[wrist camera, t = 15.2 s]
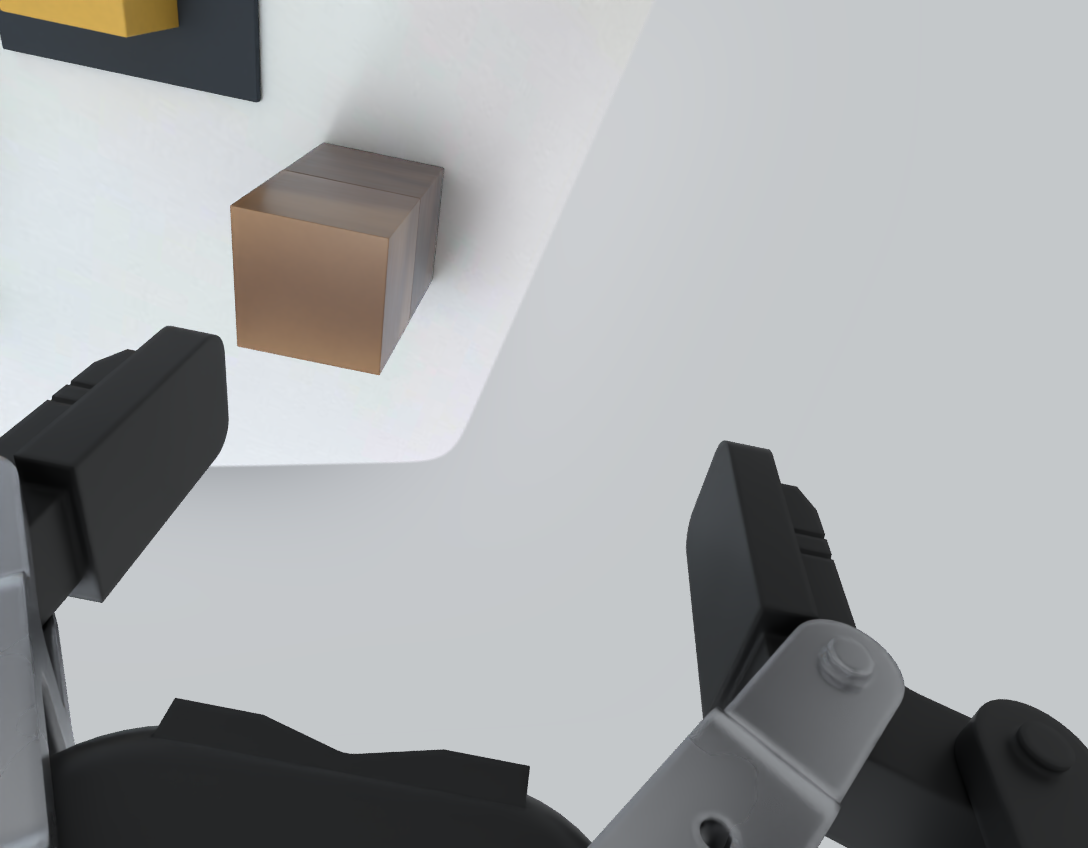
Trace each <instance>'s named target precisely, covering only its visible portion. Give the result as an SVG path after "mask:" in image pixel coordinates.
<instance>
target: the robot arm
mask: <svg viewBox="0 0 1088 848" xmlns="http://www.w3.org/2000/svg"><path fill="white" fill-rule="evenodd" d="M228 421H229V417H228V400H227V383H226V367H225V352H224V345H223V342H222V340H221V338H220V337H219V336H217V335H213V334H208V333H203V332H198V331H193V330H188V329H184V328H179V327H174V326H166V327H164V328H163V329H161V330H160V331H159V332H158V333H157V334H155V335H154V336H153V337H152V338H151V339H149V340H148V341H147V342H146V343H145V344H144V345H142V346H141V347H140V348H139V349H138V350H136V351H134V350H129V349H127V350H124V351H122V352H119V353H117V354H114V355H112V356H109V357H106V358H104V359H101V360H99V361H96V362H94V363H93V364H91V365H90V366H89V367H88V368H86V369H85V370H84V371H83V372H82V373H80V374H79V375H78V376H77V377H75V378H74V379H73V380H72V381H71V384H70V385H65V386H64V387H63V388H62V389H60V390H59V391H58V392H57V393H55V394H54V395H53V396H52V400H51V401H50V400H47V401H45V402H44V403H43V404H42V405H40V406H39V407H38V408H37V409H35V410H34V411H33V412H32V413H30V414H29V415H28V416H27V417H25V418H24V419H23V420H22V421H20V422H19V423H18V424H17V425H15V426H14V427H13V428H12V429H10V430H9V431H8V432H7V433H5V434H4V435H3V436H2V437H0V848H818V846H819V845H820V843H821V841H822V840H823V838H824V836H826V837H828V838H830V839H832V840H834V841H836V842H838V843H840V844H841V845H843V846H845V847H847V848H1088V749H1087V747H1086V746H1085V745H1084V744H1083V743H1082V742H1081V741H1080V740H1079V739H1078V738H1077V737H1076V736H1075V735H1074V734H1073V733H1072V732H1071V731H1070V730H1069V729H1067V728H1066V727H1065V726H1063V725H1062V724H1061V723H1060V722H1058V721H1057V720H1055V719H1054V718H1052V717H1051V716H1049V715H1048V714H1046V713H1044V712H1042V711H1040V710H1038V709H1036V708H1034V707H1032V706H1029V705H1027V704H1024V703H1020V702H1017V701H1012V700H1003V699H998V700H992V701H989V702H987V703H985V704H984V705H983V706H982V707H981V708H980V709H979V710H978V711H977V712H976V714H975V715H974V716H973V717H972V718H970V717H968V716H966V715H963V714H961V713H959V712H957V711H954V710H952V709H950V708H948V707H946V706H944V705H941V704H939V703H937V702H935V701H932V700H931V699H928V698H926V697H924V696H922V695H920V694H918V693H916V692H914V691H912V690H910V689H909V688H907V687H905V686H904V680H903V677H902V674H901V671H900V670H899V668H898V666H897V664H896V662H895V661H894V660H893V658H892V657H891V656H890V654H889V653H887V651H886V650H885V649H884V648H883V647H882V646H881V645H880V644H879V643H878V642H876V641H875V640H874V639H872V638H871V637H869V636H868V635H867V634H865V633H863V632H862V631H860V630H858V629H856V626H855V623H854V620H853V617H852V614H851V611H850V608H849V605H848V602H847V599H846V596H845V593H844V591H843V587H842V584H841V581H840V578H839V575H838V572H837V569H836V566H835V563H834V560H831V555H832V554H831V551H830V548H829V545H828V542H827V540H826V539H824V536H825V533H824V530H823V527H822V524H821V522H820V518H819V516H818V513H817V510H816V509H815V508H814V507H813V505H812V504H811V503H810V502H809V501H808V500H807V498H806V497H805V496H804V495H803V494H802V492H801V491H800V490H799V489H798V487H796V486H790V485H786V484H781V482H780V479H779V475H778V472H777V469H776V465H775V461H774V458H773V455H772V452H771V451H770V450H769V449H764V448H759V447H754V446H749V445H744V444H740V443H735V442H730V441H722V442H721V443H720V444H719V446H718V448H717V450H716V452H715V455H714V457H713V460H712V462H711V465H710V468H709V470H708V473H707V475H706V478H705V481H704V483H703V486H702V489H701V491H700V494H699V496H698V499H697V501H696V504H695V507H694V510H693V512H692V515H691V519H690V522H689V527H688V532H687V541H686V553H687V563H688V573H689V583H690V592H691V603H692V613H693V622H694V633H695V643H696V652H697V662H698V672H699V682H700V692H701V702H702V712H703V720H702V721H701V722H700V723H699V724H698V725H697V726H696V728H695V729H694V730H693V731H692V732H691V733H690V734H689V735H688V736H687V738H686V739H685V740H684V741H683V742H682V743H681V744H680V745H679V746H678V748H677V749H676V750H675V751H674V752H673V753H672V754H671V755H670V757H669V758H668V759H667V760H666V761H665V762H664V763H663V764H662V766H660V768H659V769H658V770H657V771H656V772H655V773H654V774H653V775H652V776H651V778H650V779H649V780H648V781H647V782H646V783H645V784H644V785H643V786H642V788H641V789H640V790H639V791H638V792H637V793H636V794H635V795H634V796H633V798H632V799H631V800H630V801H629V802H628V803H627V804H626V805H625V806H624V808H623V809H622V810H621V811H620V812H619V813H618V814H617V815H616V816H615V818H614V819H613V820H612V821H611V822H610V823H609V824H608V825H607V826H606V828H605V829H604V830H603V831H602V832H601V833H600V834H599V835H598V836H597V838H596V839H595V840H594V841H593V842H591V841H590V840H589V839H588V838H587V837H586V836H585V835H584V834H583V833H582V832H581V831H580V830H579V829H578V828H577V827H576V826H574V825H573V824H572V823H571V822H569V821H568V820H567V819H566V818H565V817H563V816H562V815H561V814H559V813H558V812H556V811H555V810H553V809H552V808H550V807H549V806H547V805H546V804H544V803H542V802H541V801H539V800H537V799H535V798H533V797H531V796H529V795H527V787H528V777H529V770H530V766H527V765H521V764H516V763H511V762H506V761H501V760H495V759H490V758H485V757H480V756H474V755H469V754H464V753H459V752H454V751H449V750H426V751H406V752H386V753H368V754H367V753H366V754H348V753H343V752H340V751H337V750H335V749H333V748H331V747H329V746H327V745H325V744H323V743H321V742H319V741H316V740H314V739H312V738H310V737H308V736H306V735H304V734H302V733H300V732H298V731H296V730H294V729H292V728H290V727H287V726H285V725H283V724H281V723H279V722H277V721H275V720H273V719H271V718H269V717H267V716H265V715H261V714H256V713H251V712H246V711H240V710H235V709H230V708H225V707H220V706H215V705H210V704H204V703H199V702H194V701H189V700H183V699H178V698H175V699H174V701H173V702H172V704H171V706H170V707H169V709H168V711H167V713H166V714H165V716H164V718H163V719H162V721H161V723H160V725H159V726H148V727H142V728H135V729H129V730H123V731H119V732H115V733H111V734H107V735H103V736H99V737H96V738H94V739H91V740H88V741H85V742H82V743H79V744H76V745H75V743H74V737H73V732H72V726H71V718H70V711H69V704H68V697H67V689H66V682H65V674H64V667H63V660H62V653H61V645H60V638H59V631H58V624H57V621H56V617H55V613H54V612H55V611H56V610H57V608H58V607H59V606H60V605H61V604H62V602H63V601H64V600H65V599H66V598H67V596H70V597H75V598H80V599H85V600H90V601H96V602H100V603H102V602H103V601H104V600H105V599H106V597H107V596H108V595H109V593H110V592H111V591H112V590H113V588H114V587H115V586H116V585H117V583H118V582H119V581H120V580H121V578H122V577H123V576H124V574H125V573H126V572H127V571H128V569H129V568H130V567H131V566H132V564H133V563H134V562H135V560H136V559H137V558H138V557H139V555H140V554H141V553H142V552H143V550H144V549H145V548H146V546H147V545H148V544H149V543H150V541H151V540H152V539H153V537H154V536H155V535H156V534H157V532H158V531H159V530H160V528H161V527H162V526H163V525H164V524H165V522H166V521H167V520H168V518H169V517H170V516H171V515H172V513H173V512H174V511H175V510H176V508H177V507H178V506H179V504H180V503H181V502H182V501H183V499H184V498H185V497H186V495H187V494H188V493H189V492H190V490H191V489H192V488H193V486H194V485H195V484H196V483H197V481H198V480H199V479H200V478H201V476H202V475H203V474H204V473H205V471H206V470H207V469H208V467H209V466H210V465H211V464H212V462H213V461H214V460H215V459H216V457H217V456H218V454H219V453H220V451H221V449H222V447H223V444H224V442H225V438H226V435H227V430H228Z"/></svg>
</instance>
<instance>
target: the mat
mask: <svg viewBox="0 0 1088 848" xmlns="http://www.w3.org/2000/svg"><path fill="white" fill-rule="evenodd" d="M177 8H178V21H179V27H176V28H171V29H166V30H161V31H156V32H151V33H146V34H141V35H136V36H131V37H122V36H117V35H112V34H108V33H103V32H98V31H93V30H89V29H84V28H79V27H75V26H70V25H65V24H60V23H56V22H51V21H46V20H42V19H37V18H32V17H28V16H23V15H18V14H13V13H9V12H4V11H2V10H1V9H0V35H1V40H2V46H3V48H4V49H7V50H12V51H17V52H21V53H26V54H31V55H36V56H40V57H45V58H50V59H54V60H59V61H64V62H69V63H73V64H78V65H83V66H87V67H92V68H97V69H102V70H106V71H111V72H116V73H120V74H125V75H130V76H135V77H139V78H144V79H149V80H153V81H158V82H163V83H168V84H172V85H177V86H182V87H186V88H191V89H196V90H201V91H205V92H210V93H215V94H219V95H224V96H229V97H234V98H238V99H243V100H248V101H252V102H259V101H260V100H261V99H260V60H259V22H258V0H177Z"/></svg>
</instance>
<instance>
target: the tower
mask: <svg viewBox="0 0 1088 848" xmlns="http://www.w3.org/2000/svg"><path fill="white" fill-rule="evenodd" d="M443 174H444V168H441V167H437V166H432V165H427V164H422V163H418V162H413V161H408V160H403V159H399V158H394V157H389V156H385V155H380V154H375V153H370V152H366V151H361V150H356V149H351V148H347V147H342V146H337V145H332V144H328V143H322V144H320V145H319V146H318V147H316V148H315V149H313V150H312V151H310V152H309V153H307V154H306V155H304V156H303V157H301V158H300V159H298V160H297V161H296V162H294V163H293V164H291V165H290V166H288V167H287V168H285V169H284V170H282V171H280V172H279V173H277V174H276V175H274V176H273V177H271V178H270V179H269V180H267V181H266V182H264V183H263V184H261V185H260V186H258V187H257V188H255V189H254V190H252V191H251V192H249V193H248V194H246V195H245V196H244V197H242V198H241V199H239V200H238V201H236V202H235V203H233V204H232V205H231V206H230V211H231V231H232V250H233V270H234V290H235V310H236V329H237V346H238V347H243V348H248V349H253V350H258V351H263V352H268V353H273V354H278V355H282V356H287V357H292V358H297V359H302V360H307V361H312V362H317V363H322V364H327V365H332V366H336V367H341V368H346V369H351V370H356V371H361V372H366V373H371V374H376V375H380V373H381V371H382V370H383V368H384V366H385V364H386V363H387V361H388V359H389V357H390V355H391V354H392V352H393V350H394V348H395V346H396V345H397V343H398V341H399V339H400V338H401V336H402V334H403V332H404V330H405V329H406V327H407V325H408V323H409V321H410V319H411V317H412V316H413V314H414V312H415V310H416V309H417V307H418V305H419V303H420V301H421V300H422V298H423V296H424V294H425V292H426V291H427V289H428V287H429V285H430V284H431V282H432V278H433V268H434V259H435V250H436V240H437V231H438V221H439V212H440V203H441V193H442V184H443Z"/></svg>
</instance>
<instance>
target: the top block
mask: <svg viewBox="0 0 1088 848" xmlns="http://www.w3.org/2000/svg"><path fill="white" fill-rule="evenodd" d="M0 9H1V10H2V11H4V12H9V13H13V14H18V15H23V16H28V17H32V18H37V19H42V20H46V21H51V22H56V23H60V24H65V25H70V26H75V27H79V28H84V29H89V30H93V31H98V32H103V33H108V34H112V35H117V36H122V37H131V36H136V35H141V34H146V33H151V32H156V31H161V30H166V29H171V28H176V27H179V21H178V8H177V0H0Z"/></svg>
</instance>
